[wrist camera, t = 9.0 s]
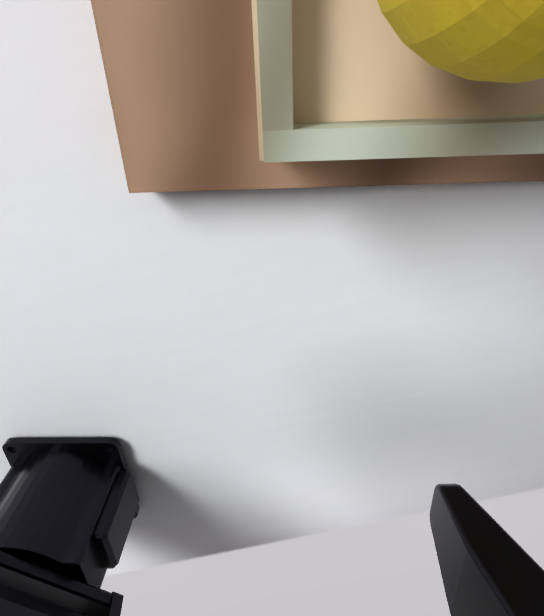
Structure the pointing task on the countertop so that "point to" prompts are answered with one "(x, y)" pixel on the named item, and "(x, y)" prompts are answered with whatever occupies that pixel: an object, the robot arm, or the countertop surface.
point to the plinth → (219, 109)
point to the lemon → (473, 36)
